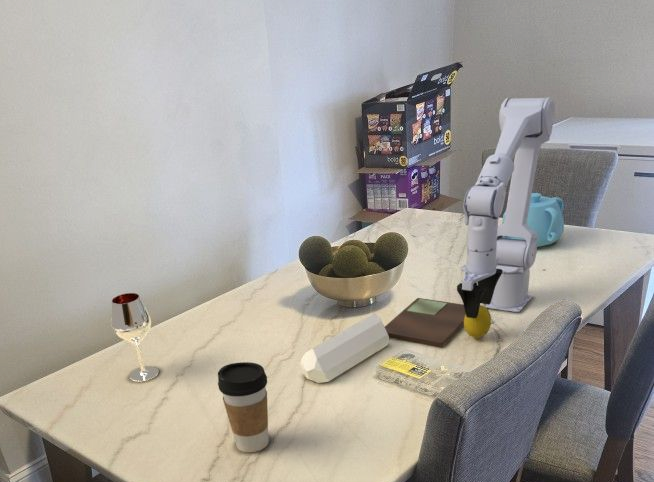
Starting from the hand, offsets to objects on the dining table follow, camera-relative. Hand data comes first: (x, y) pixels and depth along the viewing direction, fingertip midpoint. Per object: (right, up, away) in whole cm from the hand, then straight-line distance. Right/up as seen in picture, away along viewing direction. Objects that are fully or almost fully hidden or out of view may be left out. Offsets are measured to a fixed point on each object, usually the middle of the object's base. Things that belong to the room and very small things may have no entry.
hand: (478, 310), depth 145 cm
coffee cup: (-47, -28, -21) cm, 58 cm away
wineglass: (-72, -13, +6) cm, 73 cm away
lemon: (+1, -6, +3) cm, 7 cm away
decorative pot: (+29, +26, +48) cm, 62 cm away
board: (-8, -1, +12) cm, 14 cm away
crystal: (-28, -11, +2) cm, 30 cm away
